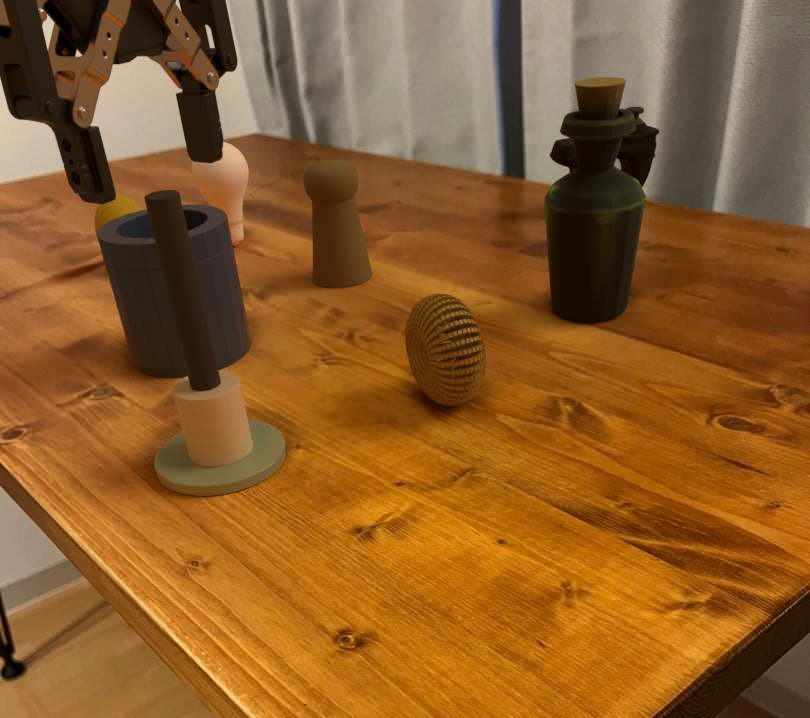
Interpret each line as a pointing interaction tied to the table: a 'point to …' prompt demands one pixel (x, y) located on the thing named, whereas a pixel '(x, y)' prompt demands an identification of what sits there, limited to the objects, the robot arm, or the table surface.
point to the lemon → (114, 210)
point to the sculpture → (445, 349)
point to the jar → (147, 295)
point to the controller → (631, 154)
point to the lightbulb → (225, 186)
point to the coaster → (209, 481)
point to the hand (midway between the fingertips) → (155, 180)
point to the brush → (197, 347)
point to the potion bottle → (594, 210)
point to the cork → (336, 225)
